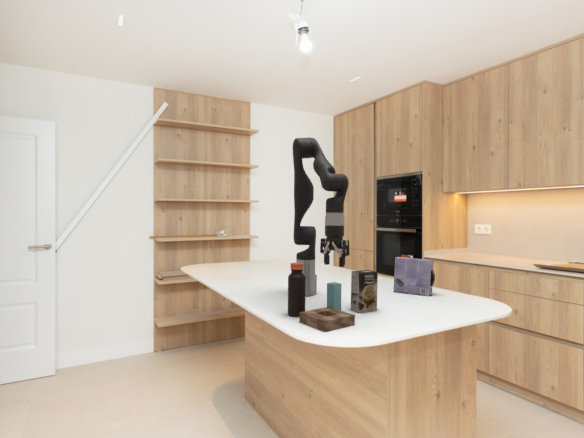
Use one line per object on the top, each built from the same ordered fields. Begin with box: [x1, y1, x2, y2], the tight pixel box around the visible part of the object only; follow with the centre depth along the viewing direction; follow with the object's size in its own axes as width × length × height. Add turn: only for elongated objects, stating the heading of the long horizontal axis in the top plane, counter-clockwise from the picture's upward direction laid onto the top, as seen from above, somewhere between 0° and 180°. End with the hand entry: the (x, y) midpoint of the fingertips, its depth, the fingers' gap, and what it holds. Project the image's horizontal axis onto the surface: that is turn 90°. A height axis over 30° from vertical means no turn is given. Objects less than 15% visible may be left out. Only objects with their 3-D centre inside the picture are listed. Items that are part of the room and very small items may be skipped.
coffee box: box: [350, 269, 379, 314], centre depth 153 cm, size 9×6×16 cm
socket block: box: [298, 306, 356, 333], centre depth 134 cm, size 14×14×4 cm
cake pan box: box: [393, 256, 436, 296], centre depth 187 cm, size 19×5×18 cm, turn 58°
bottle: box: [287, 262, 306, 318], centre depth 146 cm, size 7×7×20 cm
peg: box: [326, 281, 342, 311], centre depth 147 cm, size 4×4×12 cm
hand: (334, 265), depth 147 cm, fingers open, 8 cm apart
